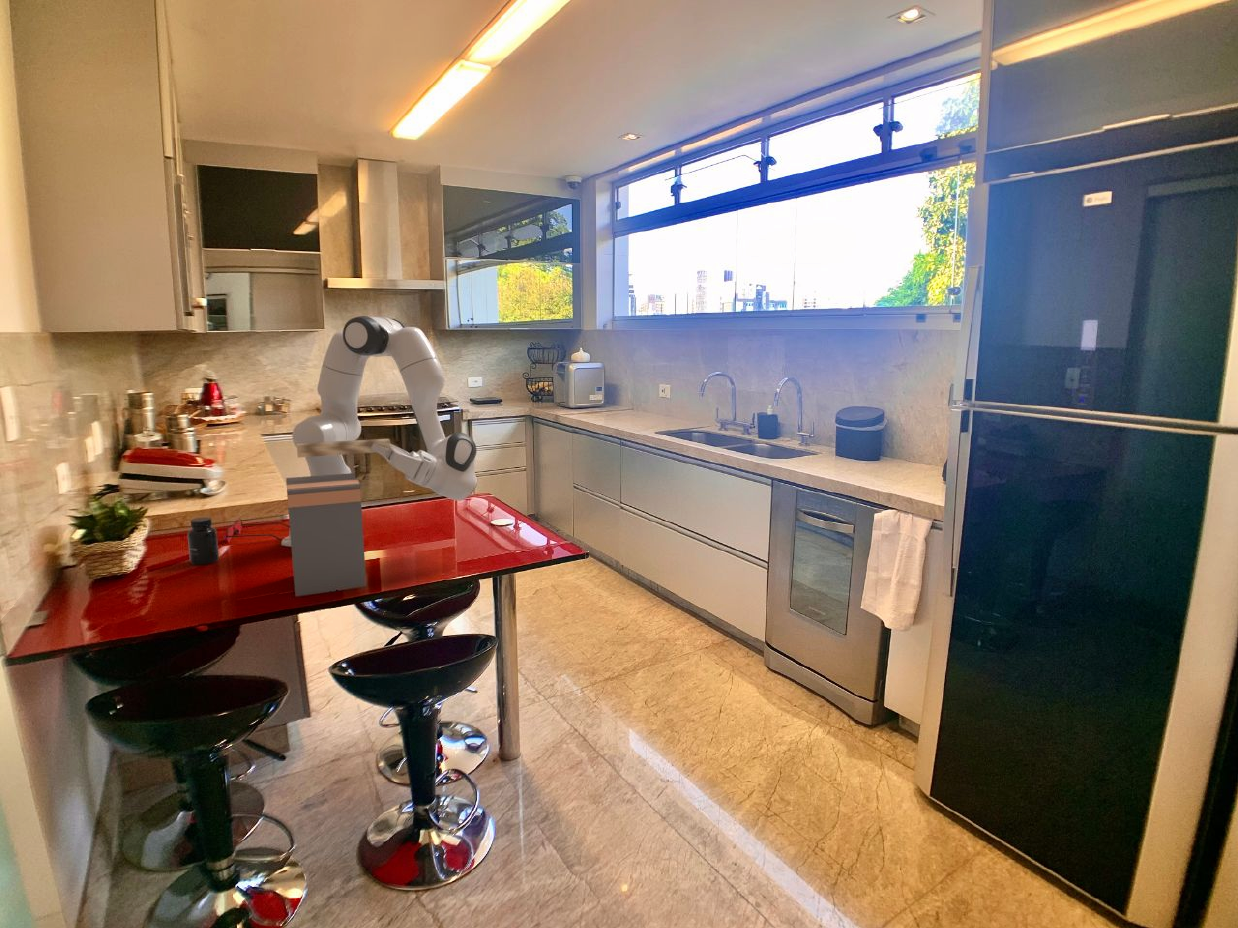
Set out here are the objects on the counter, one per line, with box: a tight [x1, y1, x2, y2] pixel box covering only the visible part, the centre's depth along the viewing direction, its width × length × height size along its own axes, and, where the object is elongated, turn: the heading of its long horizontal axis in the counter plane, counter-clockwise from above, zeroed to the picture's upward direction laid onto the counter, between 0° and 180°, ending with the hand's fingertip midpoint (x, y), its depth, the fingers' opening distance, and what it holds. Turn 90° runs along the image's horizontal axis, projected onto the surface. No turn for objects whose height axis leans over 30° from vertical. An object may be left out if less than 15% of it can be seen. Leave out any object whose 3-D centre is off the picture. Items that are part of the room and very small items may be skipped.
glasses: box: [223, 518, 290, 544], centre depth 210 cm, size 14×16×5 cm
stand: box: [285, 472, 367, 597], centre depth 170 cm, size 16×16×26 cm
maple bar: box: [296, 438, 391, 458], centre depth 173 cm, size 22×3×3 cm, turn 117°
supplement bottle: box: [187, 516, 220, 566], centre depth 185 cm, size 7×7×12 cm
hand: (370, 444), depth 176 cm, fingers closed on maple bar, 3 cm apart
